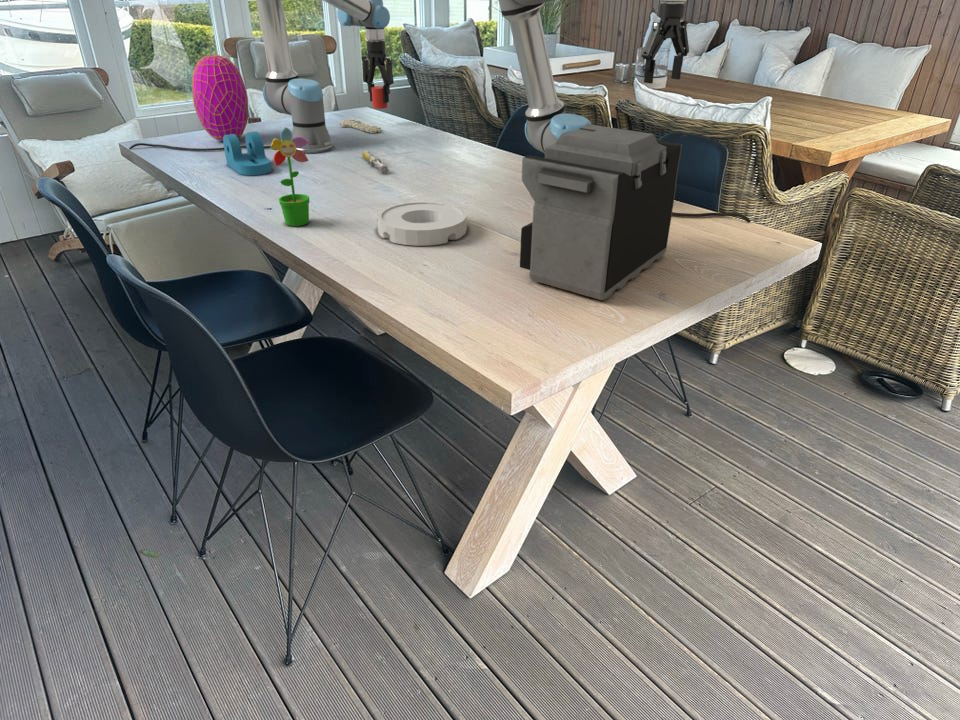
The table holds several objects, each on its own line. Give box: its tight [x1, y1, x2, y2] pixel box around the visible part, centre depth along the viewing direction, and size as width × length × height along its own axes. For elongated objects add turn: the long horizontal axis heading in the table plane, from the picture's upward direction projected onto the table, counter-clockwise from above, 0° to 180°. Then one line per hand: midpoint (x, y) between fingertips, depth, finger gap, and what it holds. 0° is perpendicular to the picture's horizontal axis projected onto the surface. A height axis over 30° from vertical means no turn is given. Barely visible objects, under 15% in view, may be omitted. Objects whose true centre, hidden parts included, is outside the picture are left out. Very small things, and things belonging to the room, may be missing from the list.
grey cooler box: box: [519, 124, 683, 301], centre depth 152 cm, size 37×22×30 cm, turn 144°
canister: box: [371, 85, 388, 110], centre depth 283 cm, size 6×6×8 cm
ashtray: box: [376, 200, 468, 247], centre depth 179 cm, size 23×23×4 cm
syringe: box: [361, 149, 390, 175], centre depth 234 cm, size 25×4×3 cm, turn 21°
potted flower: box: [270, 127, 310, 227], centre depth 177 cm, size 9×8×25 cm
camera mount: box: [222, 131, 272, 176], centre depth 226 cm, size 18×10×10 cm, turn 35°
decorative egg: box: [191, 54, 249, 142], centre depth 255 cm, size 19×19×30 cm
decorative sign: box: [340, 118, 382, 134], centre depth 285 cm, size 26×1×10 cm
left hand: (379, 101), depth 284 cm, fingers closed on canister, 6 cm apart
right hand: (661, 81), depth 210 cm, fingers open, 13 cm apart
